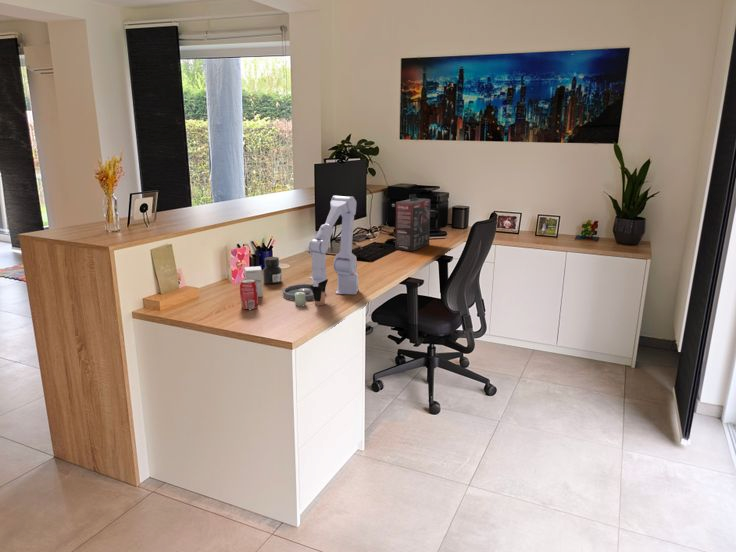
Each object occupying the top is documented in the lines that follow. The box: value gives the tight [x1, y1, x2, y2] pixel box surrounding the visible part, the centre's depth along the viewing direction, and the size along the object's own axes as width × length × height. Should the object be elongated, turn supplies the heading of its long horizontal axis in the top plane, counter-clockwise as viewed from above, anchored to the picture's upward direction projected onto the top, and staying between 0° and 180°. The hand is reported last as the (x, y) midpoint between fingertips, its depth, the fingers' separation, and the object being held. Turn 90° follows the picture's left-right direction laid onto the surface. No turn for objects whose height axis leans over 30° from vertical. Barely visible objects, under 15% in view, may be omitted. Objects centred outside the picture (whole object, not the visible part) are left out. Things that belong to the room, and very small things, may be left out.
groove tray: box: [282, 283, 315, 301], centre depth 250 cm, size 19×19×2 cm
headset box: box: [394, 193, 431, 252], centre depth 344 cm, size 25×12×33 cm, turn 148°
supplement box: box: [243, 265, 264, 298], centre depth 248 cm, size 7×7×13 cm
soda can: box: [239, 278, 259, 310], centre depth 230 cm, size 7×7×12 cm
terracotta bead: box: [314, 291, 326, 306], centre depth 236 cm, size 4×4×5 cm
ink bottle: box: [262, 256, 283, 285], centre depth 269 cm, size 10×9×12 cm
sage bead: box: [294, 292, 306, 307], centre depth 235 cm, size 4×4×5 cm
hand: (319, 298), depth 236 cm, fingers open, 7 cm apart
